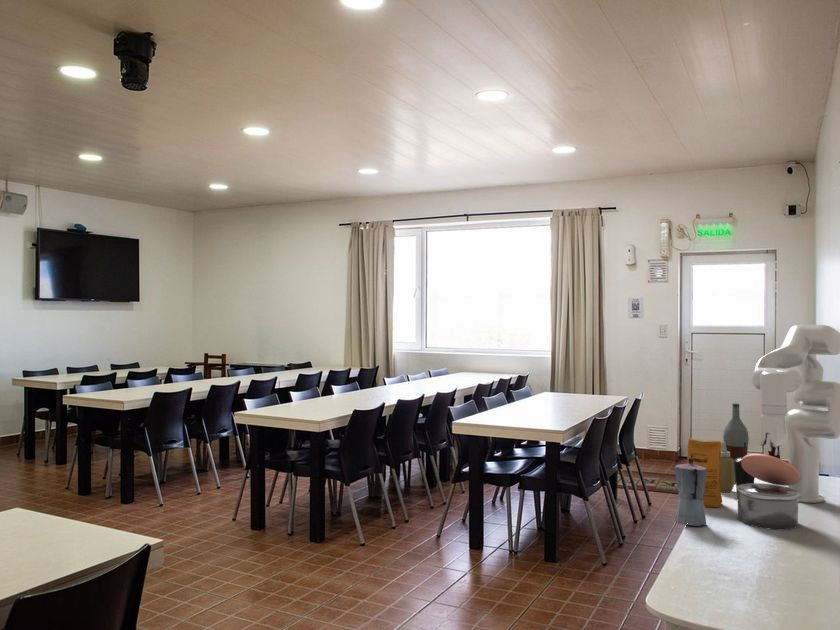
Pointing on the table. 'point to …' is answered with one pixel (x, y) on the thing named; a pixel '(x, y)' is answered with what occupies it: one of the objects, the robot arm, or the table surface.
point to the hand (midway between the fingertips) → (774, 466)
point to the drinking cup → (741, 472)
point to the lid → (770, 469)
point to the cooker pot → (768, 505)
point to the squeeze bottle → (726, 470)
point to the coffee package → (708, 468)
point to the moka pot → (690, 494)
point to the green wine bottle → (735, 435)
